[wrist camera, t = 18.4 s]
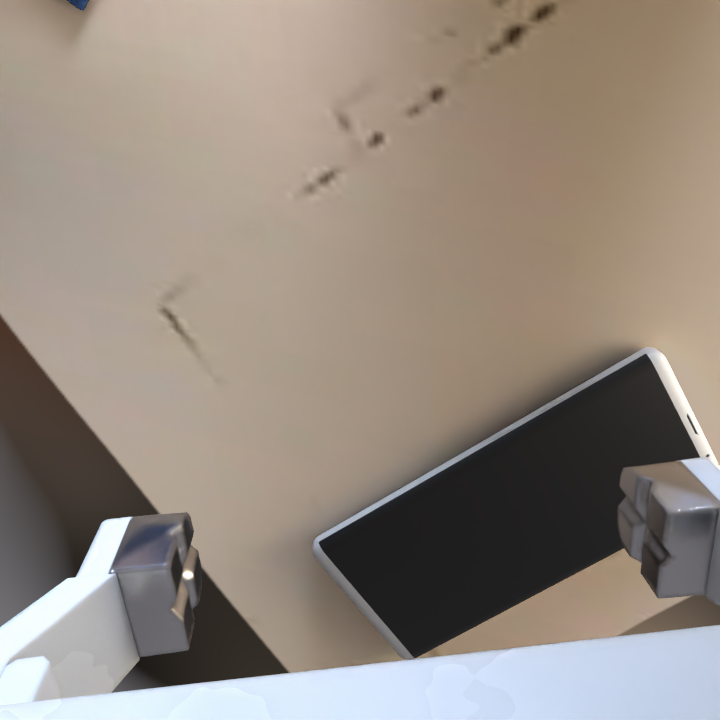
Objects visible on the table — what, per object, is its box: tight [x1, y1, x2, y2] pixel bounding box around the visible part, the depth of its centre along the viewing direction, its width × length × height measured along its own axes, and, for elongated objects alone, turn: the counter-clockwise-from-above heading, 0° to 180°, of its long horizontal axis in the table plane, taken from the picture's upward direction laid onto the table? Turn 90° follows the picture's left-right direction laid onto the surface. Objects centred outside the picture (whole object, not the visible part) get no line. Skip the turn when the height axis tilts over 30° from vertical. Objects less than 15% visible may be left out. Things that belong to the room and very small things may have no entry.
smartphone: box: [313, 347, 720, 660], centre depth 48 cm, size 13×27×2 cm, turn 123°
